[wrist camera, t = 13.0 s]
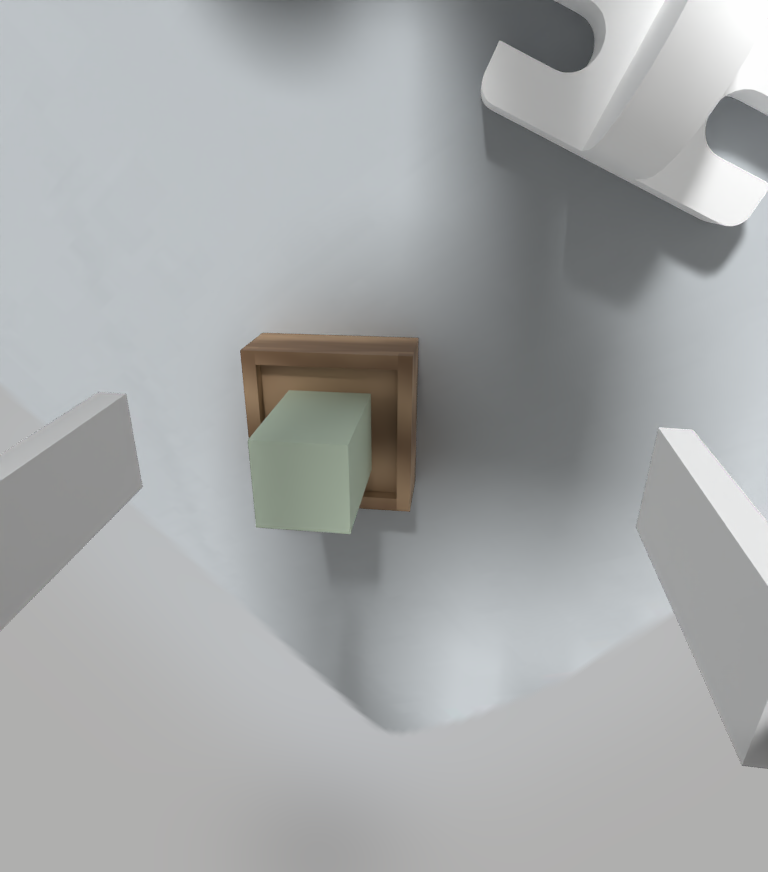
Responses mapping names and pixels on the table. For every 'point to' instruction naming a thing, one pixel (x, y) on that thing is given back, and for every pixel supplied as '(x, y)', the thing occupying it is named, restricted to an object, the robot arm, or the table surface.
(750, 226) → the table surface
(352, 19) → the table surface
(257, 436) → the green block
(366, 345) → the brown crate
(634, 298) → the table surface
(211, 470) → the table surface
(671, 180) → the white slotted block
